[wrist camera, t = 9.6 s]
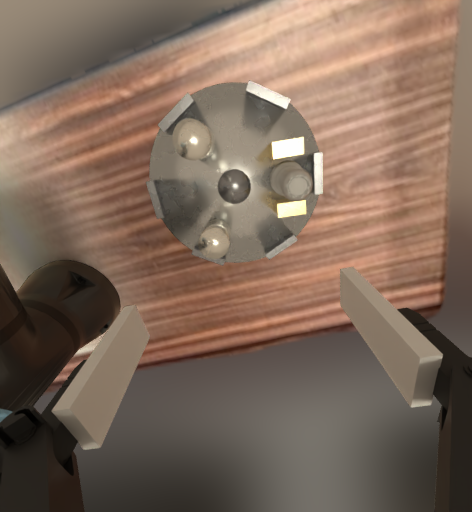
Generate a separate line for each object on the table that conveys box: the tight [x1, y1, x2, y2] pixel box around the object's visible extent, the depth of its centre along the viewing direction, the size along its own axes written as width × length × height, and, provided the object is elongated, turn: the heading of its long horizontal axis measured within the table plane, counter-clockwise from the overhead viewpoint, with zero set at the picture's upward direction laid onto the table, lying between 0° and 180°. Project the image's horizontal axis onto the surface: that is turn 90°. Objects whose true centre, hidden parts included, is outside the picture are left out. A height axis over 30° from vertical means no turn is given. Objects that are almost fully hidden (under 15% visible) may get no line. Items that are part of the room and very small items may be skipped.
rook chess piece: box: [270, 160, 313, 201], centre depth 27 cm, size 4×4×8 cm
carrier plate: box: [146, 80, 323, 265], centre depth 30 cm, size 23×23×6 cm
